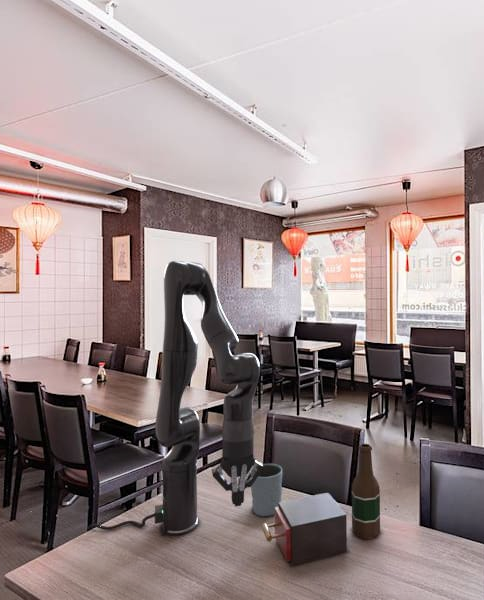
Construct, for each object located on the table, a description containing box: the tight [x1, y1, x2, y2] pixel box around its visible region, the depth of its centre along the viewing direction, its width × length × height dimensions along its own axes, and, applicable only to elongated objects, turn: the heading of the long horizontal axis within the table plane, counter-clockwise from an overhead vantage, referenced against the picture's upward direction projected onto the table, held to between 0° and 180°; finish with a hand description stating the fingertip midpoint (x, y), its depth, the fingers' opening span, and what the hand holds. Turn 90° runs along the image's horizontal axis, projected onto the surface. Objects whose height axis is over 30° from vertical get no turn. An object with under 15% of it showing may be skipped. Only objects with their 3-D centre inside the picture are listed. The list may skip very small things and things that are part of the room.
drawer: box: [261, 507, 291, 562], centre depth 107 cm, size 18×11×8 cm, turn 111°
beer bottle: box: [351, 443, 381, 540], centre depth 114 cm, size 8×8×24 cm
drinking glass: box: [248, 463, 283, 517], centre depth 127 cm, size 10×10×12 cm
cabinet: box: [278, 492, 348, 566], centre depth 109 cm, size 15×13×10 cm
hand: (237, 504), depth 102 cm, fingers closed
